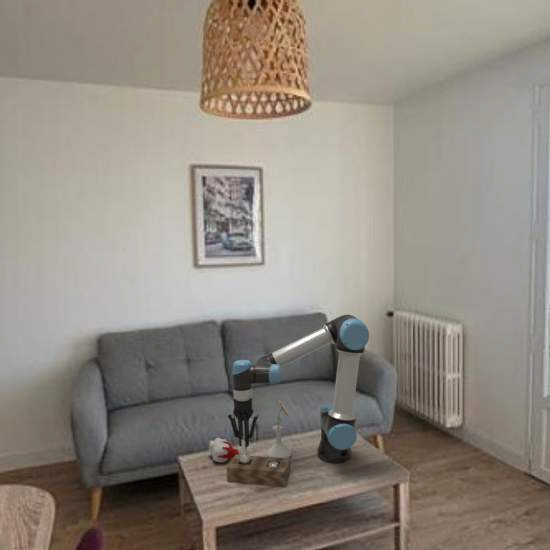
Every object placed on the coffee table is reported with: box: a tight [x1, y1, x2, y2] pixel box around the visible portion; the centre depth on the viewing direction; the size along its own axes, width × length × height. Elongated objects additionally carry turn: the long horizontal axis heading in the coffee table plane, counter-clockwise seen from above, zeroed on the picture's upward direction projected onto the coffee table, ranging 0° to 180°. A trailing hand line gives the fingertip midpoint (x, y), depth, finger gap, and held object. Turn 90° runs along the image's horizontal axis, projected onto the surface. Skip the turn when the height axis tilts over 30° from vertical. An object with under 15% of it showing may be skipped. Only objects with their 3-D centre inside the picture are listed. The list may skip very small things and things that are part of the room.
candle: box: [208, 437, 240, 464], centre depth 223 cm, size 9×11×15 cm
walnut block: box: [226, 454, 292, 488], centre depth 207 cm, size 24×12×6 cm, turn 77°
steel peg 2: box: [268, 462, 278, 467], centre depth 205 cm, size 4×4×6 cm
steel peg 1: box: [239, 451, 251, 465], centre depth 208 cm, size 4×4×6 cm
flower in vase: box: [266, 400, 293, 459], centre depth 224 cm, size 13×11×25 cm
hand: (244, 453), depth 208 cm, fingers closed
